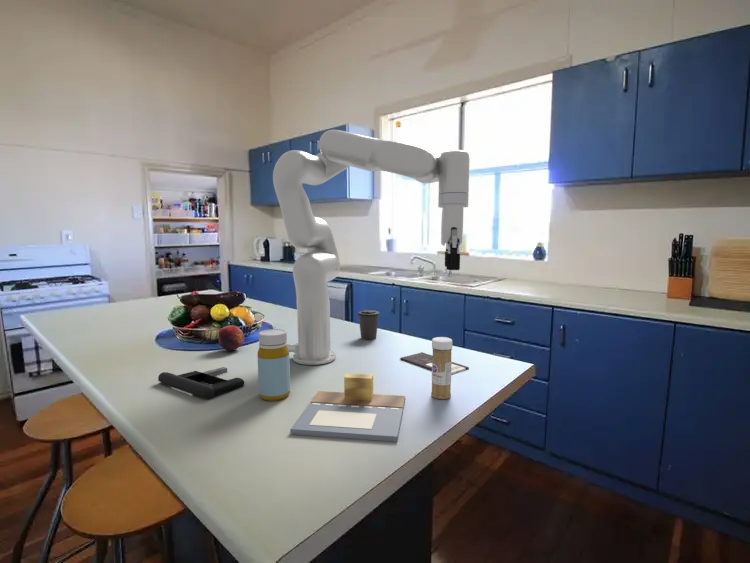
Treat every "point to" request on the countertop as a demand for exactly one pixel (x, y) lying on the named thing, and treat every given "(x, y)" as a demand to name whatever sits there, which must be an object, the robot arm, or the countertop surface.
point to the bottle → (273, 365)
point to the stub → (359, 394)
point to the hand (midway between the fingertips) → (451, 268)
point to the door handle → (191, 384)
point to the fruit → (230, 337)
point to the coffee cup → (368, 324)
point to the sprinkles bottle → (441, 367)
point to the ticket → (349, 422)
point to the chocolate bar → (430, 362)
